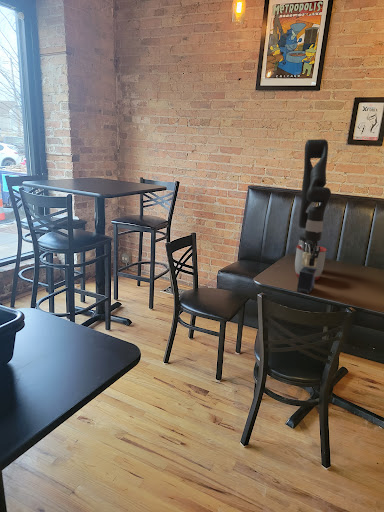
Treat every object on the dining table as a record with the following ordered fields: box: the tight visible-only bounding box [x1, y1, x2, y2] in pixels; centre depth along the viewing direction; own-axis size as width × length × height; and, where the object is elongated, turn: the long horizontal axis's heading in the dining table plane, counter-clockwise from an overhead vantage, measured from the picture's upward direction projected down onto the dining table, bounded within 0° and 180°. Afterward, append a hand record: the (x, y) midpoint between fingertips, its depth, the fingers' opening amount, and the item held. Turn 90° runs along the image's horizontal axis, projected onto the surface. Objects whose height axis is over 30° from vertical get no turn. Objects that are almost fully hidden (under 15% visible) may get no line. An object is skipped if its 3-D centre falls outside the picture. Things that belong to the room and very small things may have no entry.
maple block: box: [302, 252, 317, 267], centre depth 173 cm, size 5×5×6 cm
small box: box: [296, 267, 317, 295], centre depth 176 cm, size 11×6×10 cm, turn 150°
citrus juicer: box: [294, 244, 327, 281], centre depth 195 cm, size 16×17×20 cm
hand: (308, 264), depth 174 cm, fingers closed on maple block, 5 cm apart
